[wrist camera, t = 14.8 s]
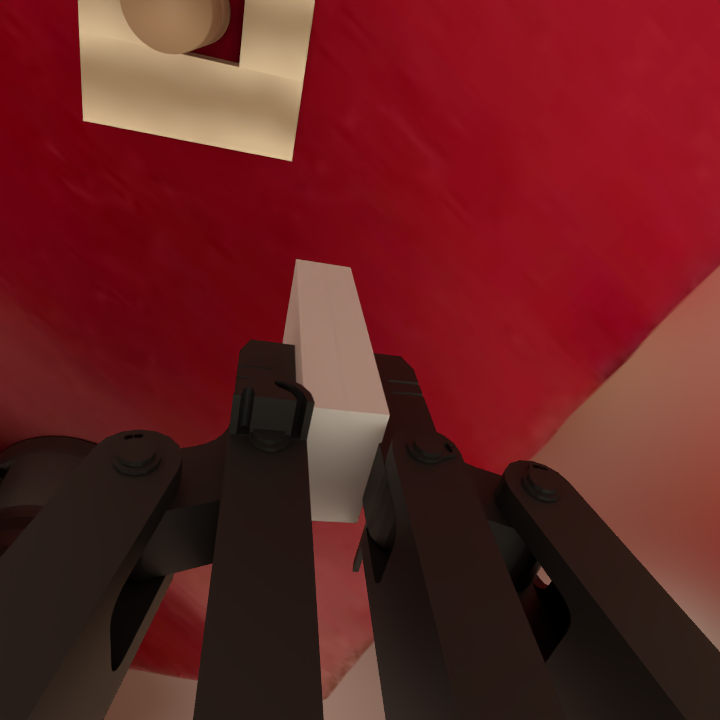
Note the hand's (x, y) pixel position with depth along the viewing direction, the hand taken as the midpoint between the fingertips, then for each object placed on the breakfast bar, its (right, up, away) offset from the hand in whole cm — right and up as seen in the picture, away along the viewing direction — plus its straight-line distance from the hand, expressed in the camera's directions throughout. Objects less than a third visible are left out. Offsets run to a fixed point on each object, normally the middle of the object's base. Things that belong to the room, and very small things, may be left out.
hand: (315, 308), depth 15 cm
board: (-9, +22, +21) cm, 32 cm away
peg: (-9, +22, +21) cm, 32 cm away
